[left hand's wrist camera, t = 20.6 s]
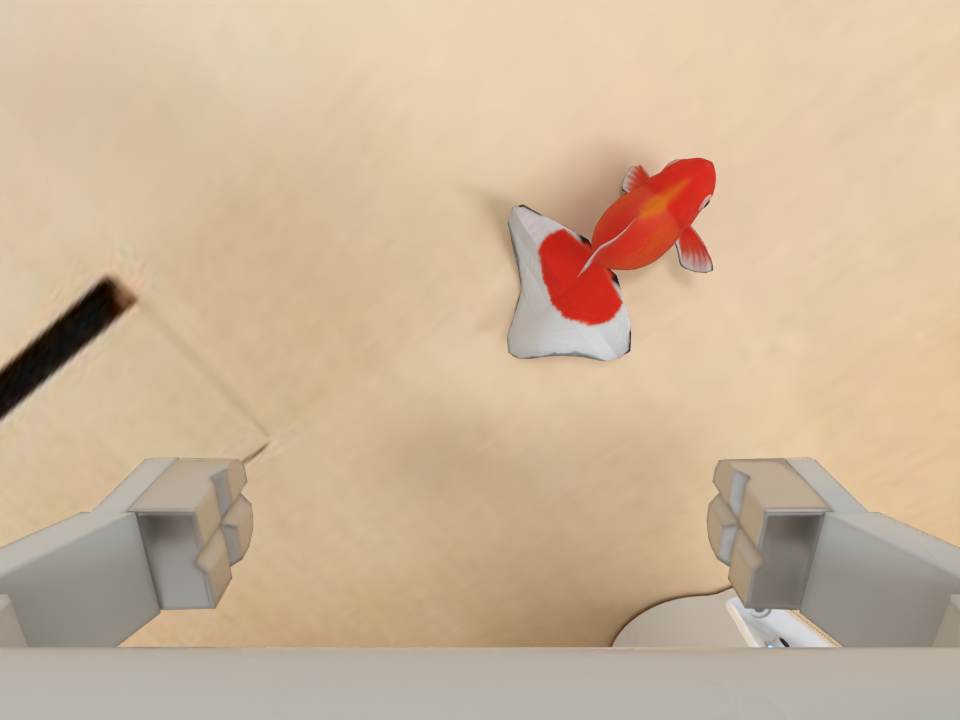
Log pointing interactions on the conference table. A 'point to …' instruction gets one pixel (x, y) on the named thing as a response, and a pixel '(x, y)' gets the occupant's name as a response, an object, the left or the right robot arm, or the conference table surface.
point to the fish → (602, 262)
